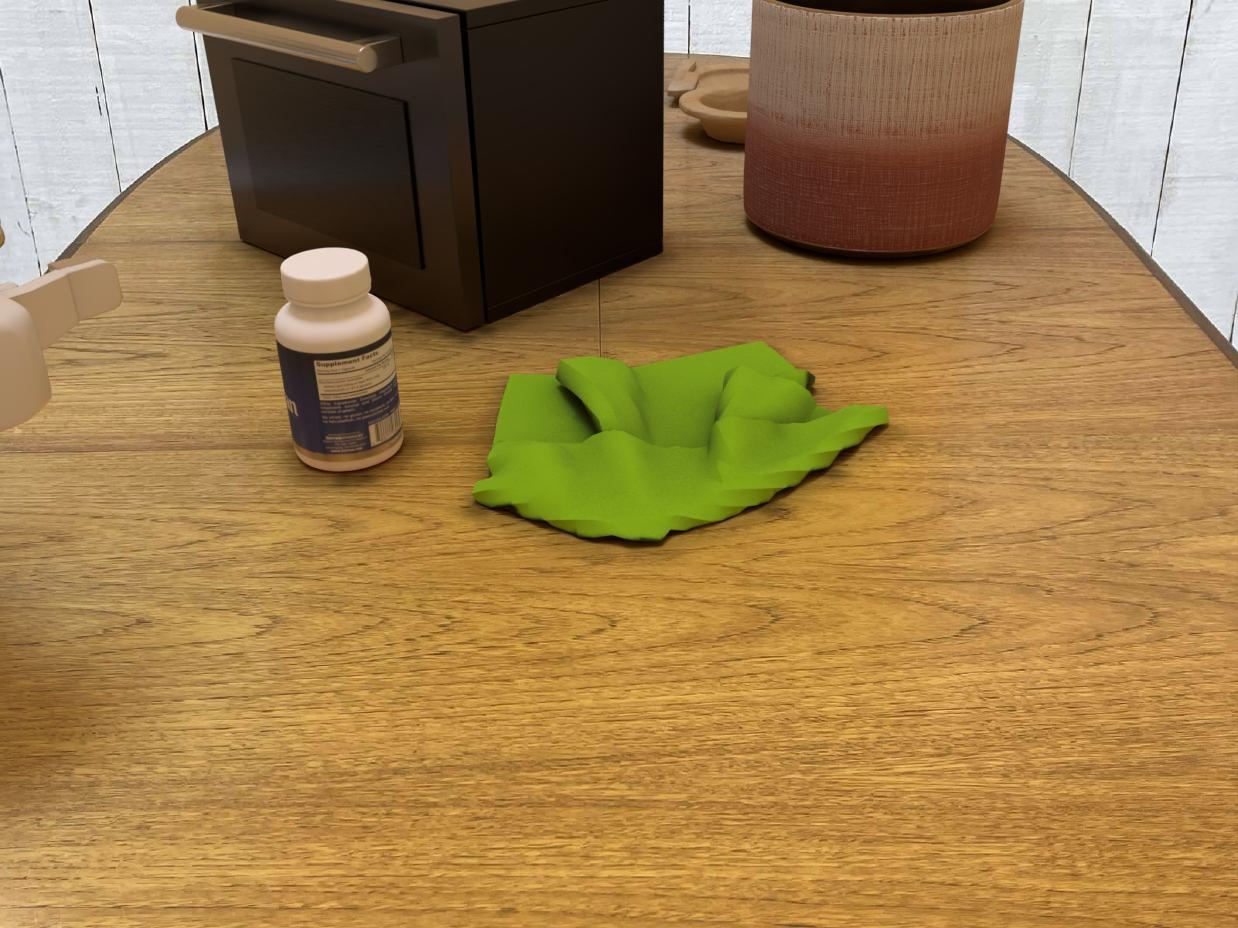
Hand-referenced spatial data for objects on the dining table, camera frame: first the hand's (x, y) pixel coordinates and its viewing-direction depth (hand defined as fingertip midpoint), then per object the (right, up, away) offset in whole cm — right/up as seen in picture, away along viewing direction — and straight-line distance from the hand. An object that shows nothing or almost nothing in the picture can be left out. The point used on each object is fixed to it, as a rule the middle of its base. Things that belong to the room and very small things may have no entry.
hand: (49, 248), depth 48 cm
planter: (+39, +9, +42) cm, 59 cm away
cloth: (+25, -7, +16) cm, 30 cm away
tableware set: (+25, +24, +69) cm, 77 cm away
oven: (+10, +7, +40) cm, 42 cm away
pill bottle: (+8, -8, +15) cm, 19 cm away
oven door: (+3, +3, +33) cm, 33 cm away
